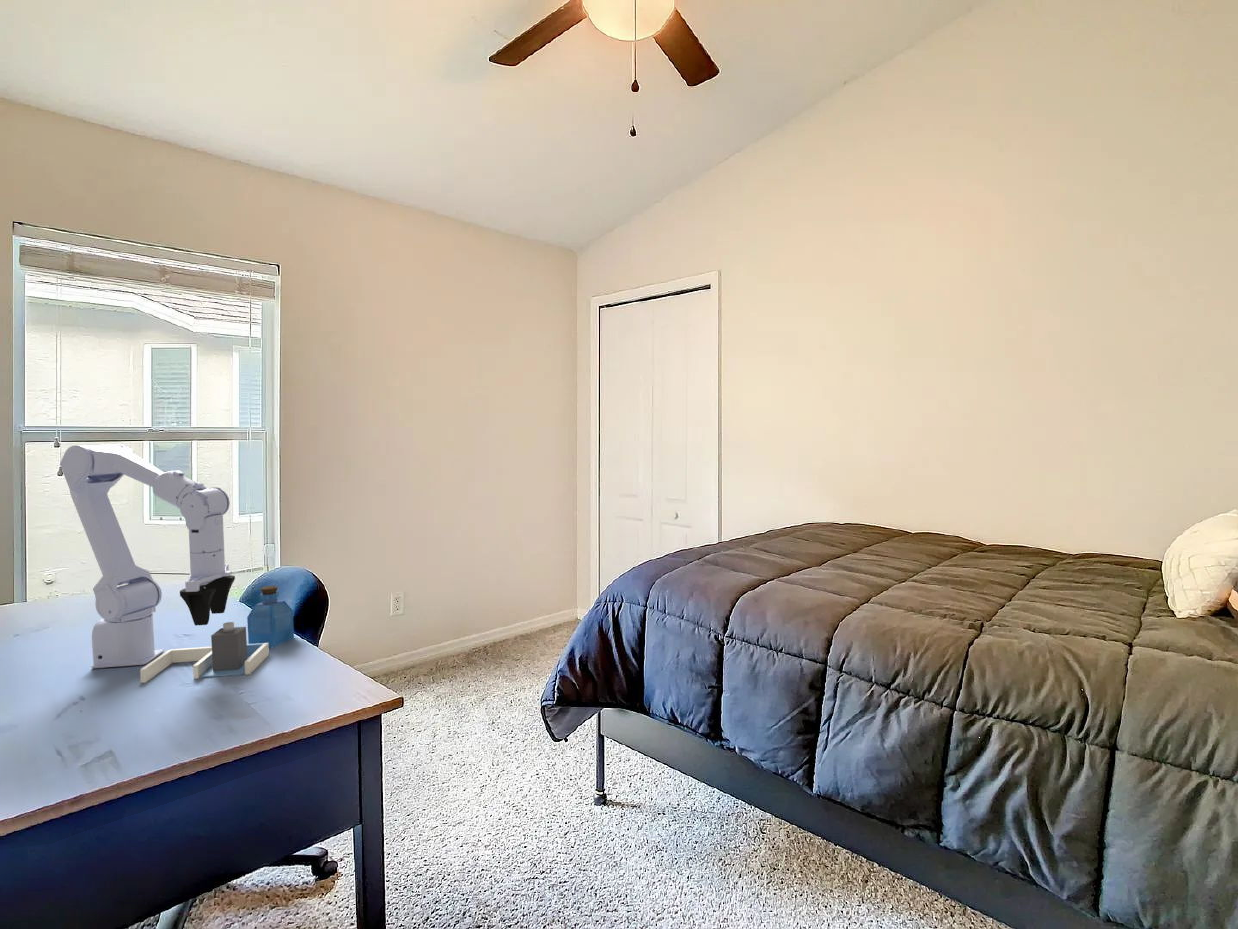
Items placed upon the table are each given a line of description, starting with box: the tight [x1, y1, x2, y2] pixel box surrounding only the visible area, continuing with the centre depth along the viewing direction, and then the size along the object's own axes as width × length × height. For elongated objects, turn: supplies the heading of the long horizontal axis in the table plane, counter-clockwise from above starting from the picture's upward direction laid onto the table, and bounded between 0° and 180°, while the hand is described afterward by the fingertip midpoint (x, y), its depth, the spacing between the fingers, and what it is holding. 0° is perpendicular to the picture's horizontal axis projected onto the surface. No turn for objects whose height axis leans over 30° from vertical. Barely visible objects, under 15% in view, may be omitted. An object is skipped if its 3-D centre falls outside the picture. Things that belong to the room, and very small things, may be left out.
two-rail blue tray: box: [139, 643, 270, 684], centre depth 126 cm, size 18×11×2 cm, turn 101°
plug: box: [210, 621, 248, 672], centre depth 126 cm, size 4×4×8 cm
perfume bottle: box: [246, 585, 295, 648], centre depth 141 cm, size 6×6×12 cm
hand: (210, 618), depth 127 cm, fingers open, 7 cm apart
